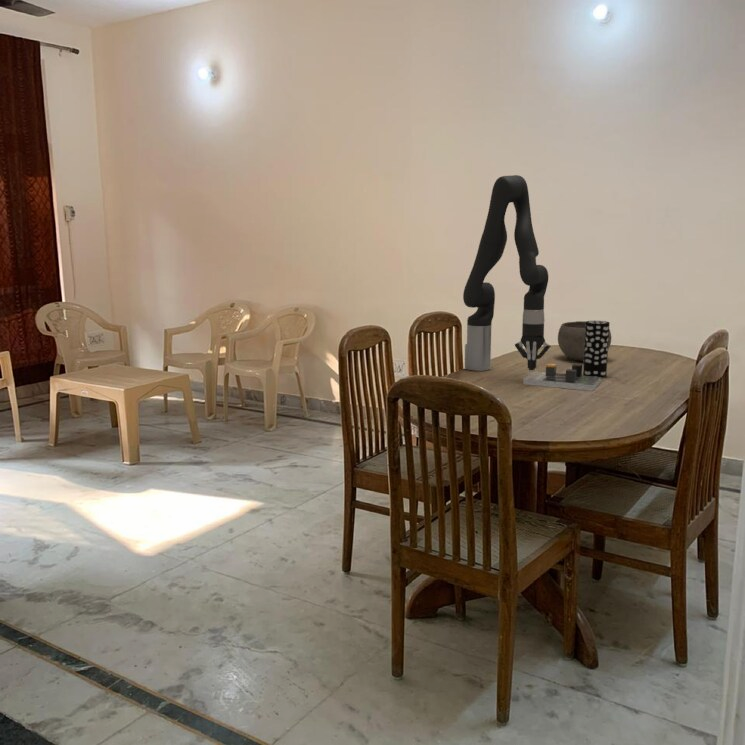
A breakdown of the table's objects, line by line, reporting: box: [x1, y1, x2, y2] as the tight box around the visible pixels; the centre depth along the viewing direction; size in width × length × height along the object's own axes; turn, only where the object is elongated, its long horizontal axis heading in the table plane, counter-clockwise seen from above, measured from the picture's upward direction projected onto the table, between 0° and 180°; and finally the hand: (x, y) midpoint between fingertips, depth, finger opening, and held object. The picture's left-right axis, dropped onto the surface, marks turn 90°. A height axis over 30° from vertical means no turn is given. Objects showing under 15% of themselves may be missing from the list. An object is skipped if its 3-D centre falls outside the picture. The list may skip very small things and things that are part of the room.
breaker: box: [545, 363, 558, 377], centre depth 272 cm, size 3×3×4 cm
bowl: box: [557, 320, 612, 362], centre depth 313 cm, size 21×21×15 cm
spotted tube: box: [582, 320, 610, 379], centre depth 282 cm, size 8×8×20 cm
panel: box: [522, 363, 602, 392], centre depth 271 cm, size 24×14×6 cm, turn 64°
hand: (531, 369), depth 275 cm, fingers closed
